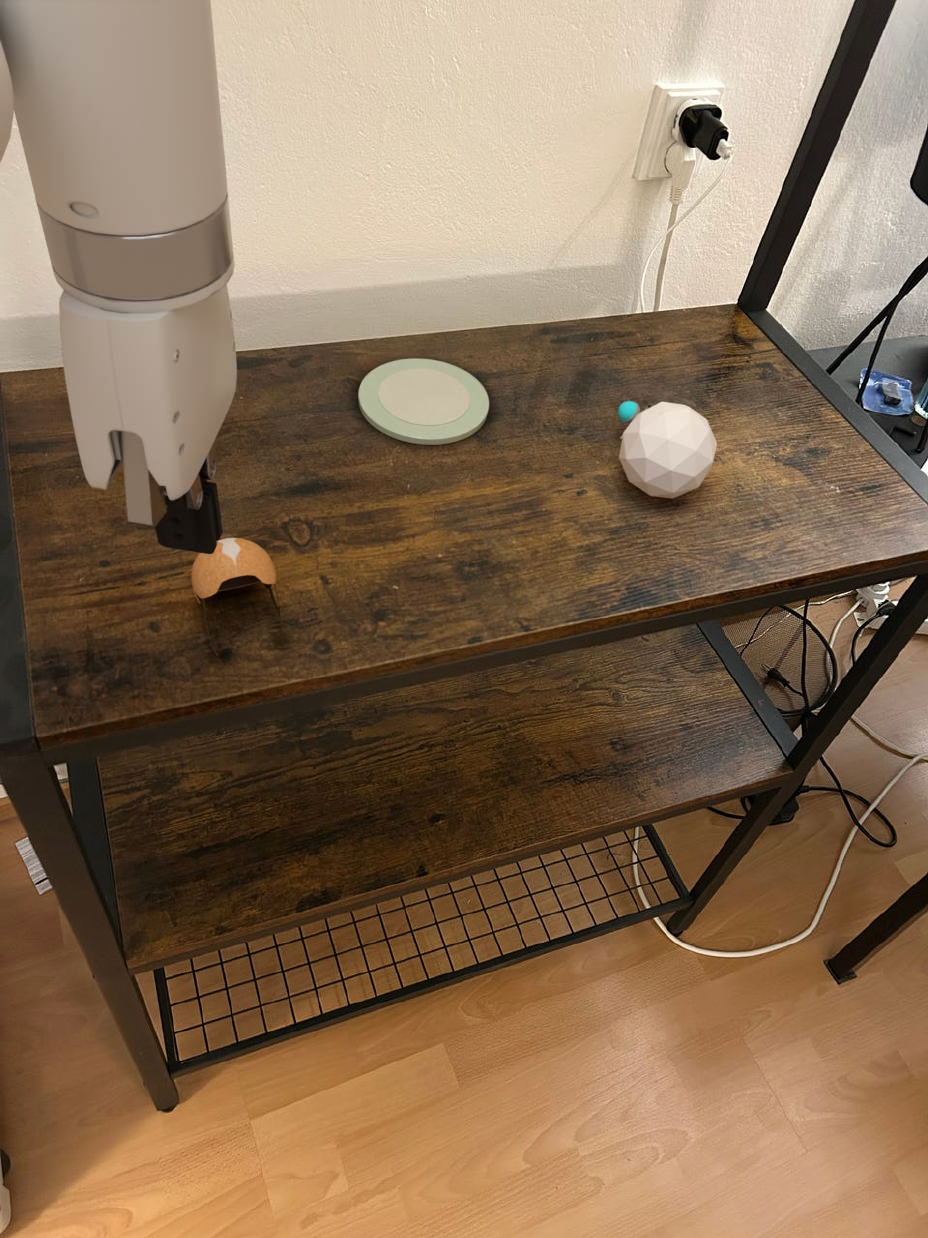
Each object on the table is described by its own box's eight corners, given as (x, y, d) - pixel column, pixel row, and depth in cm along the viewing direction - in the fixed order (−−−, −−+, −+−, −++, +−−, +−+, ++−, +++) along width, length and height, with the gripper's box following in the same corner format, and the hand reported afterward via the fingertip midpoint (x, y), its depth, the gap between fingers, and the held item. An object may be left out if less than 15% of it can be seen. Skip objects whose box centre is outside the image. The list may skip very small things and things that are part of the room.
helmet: (284, 644, 73) (260, 540, 73) (296, 637, 66) (270, 524, 67) (206, 661, 71) (181, 555, 71) (211, 656, 65) (184, 539, 65)
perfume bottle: (634, 497, 78) (564, 421, 86) (690, 528, 84) (619, 455, 92) (699, 419, 75) (621, 349, 83) (752, 457, 81) (674, 387, 89)
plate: (383, 455, 84) (383, 447, 83) (341, 373, 91) (341, 366, 90) (509, 433, 88) (510, 426, 87) (459, 356, 94) (460, 349, 94)
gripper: (117, 142, 46) (169, 446, 60) (-30, 315, 36) (73, 630, 50) (274, 168, 46) (289, 466, 59) (169, 348, 36) (217, 653, 50)
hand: (191, 540), depth 55 cm, fingers closed
